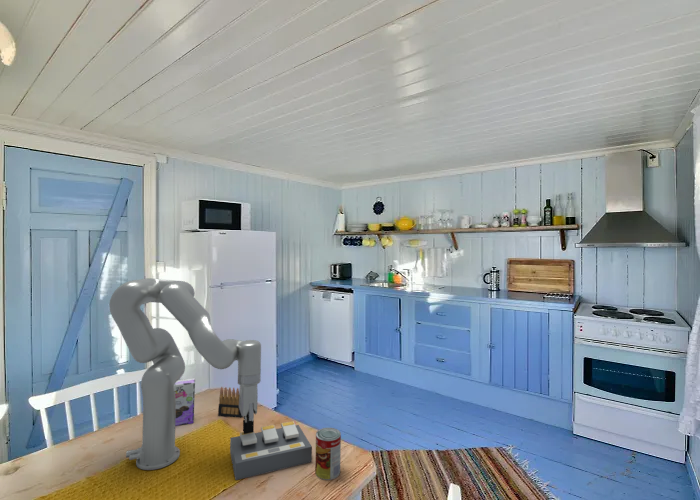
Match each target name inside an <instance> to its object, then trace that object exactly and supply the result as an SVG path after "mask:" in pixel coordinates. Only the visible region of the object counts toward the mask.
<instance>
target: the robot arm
mask: <svg viewBox="0 0 700 500" xmlns="http://www.w3.org/2000/svg"><path fill="white" fill-rule="evenodd" d="M195 292H196V291H195V288H194V286H193V285H192V284H190V283H189V282H188V281H184V280H183V281H182V280H172V279H162V278H153V277H152V278H150V277H149V278H141V279H134V280H133V279H132V280H128V281H126V282H124V283H122V284H121V285H119V286H118V287H117V288H115V290H114V291H113V293H112V294H111V296H110V300H109V307H108V308H109V312H110V314H111V317H112V319H113V321H114V323H115V324H116V326H117V327H118V330H119V332H120V334H121V336H122V339H123V341H124V342H125V344H126V346H127V348H128V351H129V352H130V354H131V356H132V358H133V359H134V360H135V362H137V363H139V364H146V363H149V362H152V363H153V364H152V365H150V366H149V367H148V368H147V369H146V370H145V371H144V373H143V374H142V377H141V379H140V380H141V381H140V390H141V395H142V438H141V439H142V440H141V446H140V447H138V448H137V449H131V450H129V449H128V450H127V451H126V452H125V457H126V458H128V459H129V461H131V460H135V461H136V463H135V465H136V467H137V468H138V469H140V470H143V471H152V470H153V471H155V470H158V469H162V468H166V467H167V466H169V465H171V464H173V463H174V462H176V461H177V460H178V459H179V457H180V455H181V454H180V453H181V450H180V447H178V446H176V443H175V442H176V426H175V419H176V398H175V392H174V384H175V383H176V382H177V381H178V380H181V378H182V376H183V375H184V373H185V371H186V363H185V360H184V357H183V356H182V354H181V352H180V350H179V347H178V346H177V343H176V341H175V339H174V337H173V336H172V334H171V333H170V332H169V331H168V330H166V329H165V328H162V327H155V328H154V327H153V326H152V324H151V322H150V320H149V318H148V316H147V315H146V313H145V312H144V311H143V310H142V308H141V306H142V305H145V304H149V303H160V304H162V306H163V307H164V308H166V310H167V311H168V312H169V313H170V314H171V315H172V316H173V318H175V319H176V320H177V321H178V323H179V324H181V326H182V327H183V329H185V330H186V331H187V333H188V336H189V338H190V341H191V342H192V344H193V346H194V348H195V349H196V351H197V352H198V354H199V355H201V356H202V358H203V359H204V360H205V361H206V362H207V363H208V364H209V365H211V367H213V368H215V369H217V370H226V369H228V368H229V367H231V366H232V364H233V363H234V362H235V361H237V384H238V385H239V388H238V389H239V410H240V413H241V415H242V416H243V417H242V418H243V419H242V432H244V434H247V433H252V432H254V433H255V431H254V429H255V428H254V427H255V425H254V424H255V419H254V418H255V416H256V415H257V413H258V403H259V402H258V396H259V395H258V384H260V383H261V382H262V381H261V378H262V377H261V375H262V373H261V371H262V369H261V367H262V366H261V365H262V344H261V342H260V341H259V340H254V339H247V340H239V339H230V338H228V339H227V338H226V339H224V340H221V339H220V338H219V336H218V335H217V333H216V332H215V331H214V329H213V327H212V323H211V317H210V313H209V312H208V311H207V309H206V308H205V307H204V306H203V305H202V304H201V303H200V302H199V301H198V300H197V299H196V298H195Z"/></svg>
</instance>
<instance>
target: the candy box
mask: <svg viewBox="0 0 700 500" xmlns="http://www.w3.org/2000/svg"><path fill="white" fill-rule="evenodd" d="M174 392H175V398H176V419H175V427H176V426H185V425H189V424H194V423H195V422H194V421H195V401H196V400H195V396H196V394H195V393H196V378H194V377H193V378H187V379H179V380H178V381H177V382H176V383H175V384H174Z"/></svg>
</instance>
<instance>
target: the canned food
mask: <svg viewBox="0 0 700 500" xmlns="http://www.w3.org/2000/svg"><path fill="white" fill-rule="evenodd" d="M341 440H342V434H341V431H340V430H338V429H337V428H335V427H323V428H320V429H318V430H317V431H316V433H315V463H314V465H315V466H314V469H315V471H314V472H315V473H314V474H315V476H316V477H317V478H318V479H320V480H325V481H330V480H331V481H332V480H335V479H337V478H338V477H339V476H340V474H341V453H342V452H341V450H342V449H341V447H342V446H341V443H342V441H341Z"/></svg>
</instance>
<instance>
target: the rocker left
mask: <svg viewBox="0 0 700 500" xmlns="http://www.w3.org/2000/svg"><path fill="white" fill-rule="evenodd" d="M255 433H256V432H255V431H254V432H252V433H247V434H244V432H243V431H242V432H239V436H240V438H241V441H242V444H243V446H244V445H249V444H254V443H257V438H256V435H255Z"/></svg>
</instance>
